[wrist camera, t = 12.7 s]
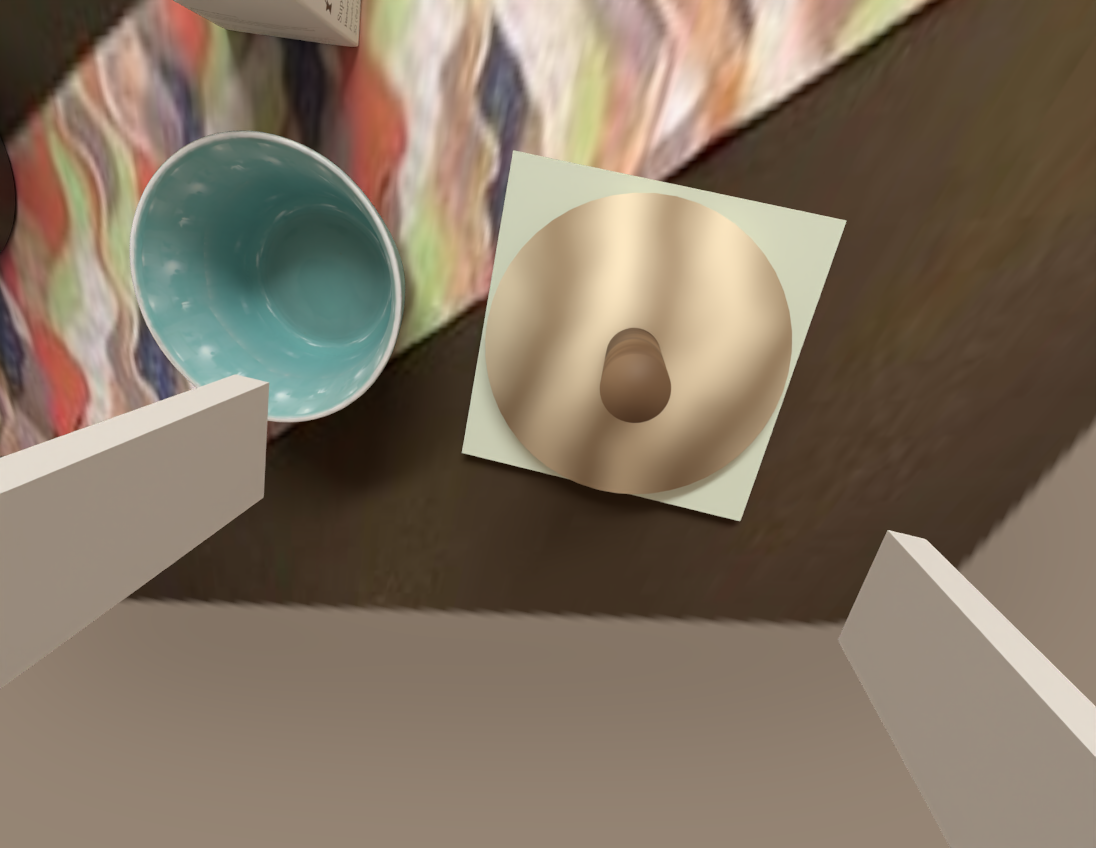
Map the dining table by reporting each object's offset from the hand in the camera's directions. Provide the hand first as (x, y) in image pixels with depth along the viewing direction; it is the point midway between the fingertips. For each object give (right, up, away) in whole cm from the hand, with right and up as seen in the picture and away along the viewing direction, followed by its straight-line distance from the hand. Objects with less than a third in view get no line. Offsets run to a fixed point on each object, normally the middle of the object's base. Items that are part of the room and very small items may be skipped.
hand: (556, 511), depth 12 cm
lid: (+5, +6, +25) cm, 27 cm away
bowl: (-15, +12, +27) cm, 33 cm away
